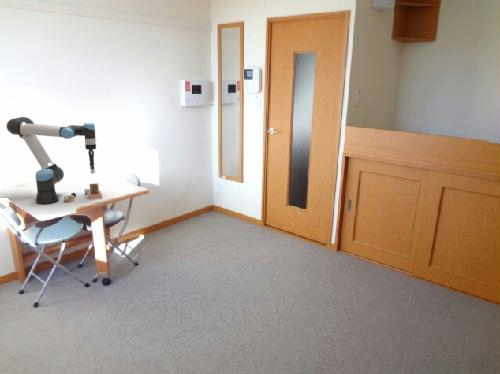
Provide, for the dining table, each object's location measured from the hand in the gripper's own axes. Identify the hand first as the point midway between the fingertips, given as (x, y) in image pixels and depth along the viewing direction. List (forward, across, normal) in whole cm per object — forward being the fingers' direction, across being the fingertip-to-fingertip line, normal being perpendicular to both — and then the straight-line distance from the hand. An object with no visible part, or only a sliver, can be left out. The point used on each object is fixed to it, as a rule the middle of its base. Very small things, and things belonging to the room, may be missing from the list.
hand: (92, 171), depth 299 cm
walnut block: (+18, 0, 0) cm, 18 cm away
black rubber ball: (+19, +4, +14) cm, 24 cm away
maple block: (+21, -6, +18) cm, 28 cm away
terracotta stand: (+21, 0, 0) cm, 21 cm away
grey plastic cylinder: (+21, +9, +4) cm, 23 cm away
